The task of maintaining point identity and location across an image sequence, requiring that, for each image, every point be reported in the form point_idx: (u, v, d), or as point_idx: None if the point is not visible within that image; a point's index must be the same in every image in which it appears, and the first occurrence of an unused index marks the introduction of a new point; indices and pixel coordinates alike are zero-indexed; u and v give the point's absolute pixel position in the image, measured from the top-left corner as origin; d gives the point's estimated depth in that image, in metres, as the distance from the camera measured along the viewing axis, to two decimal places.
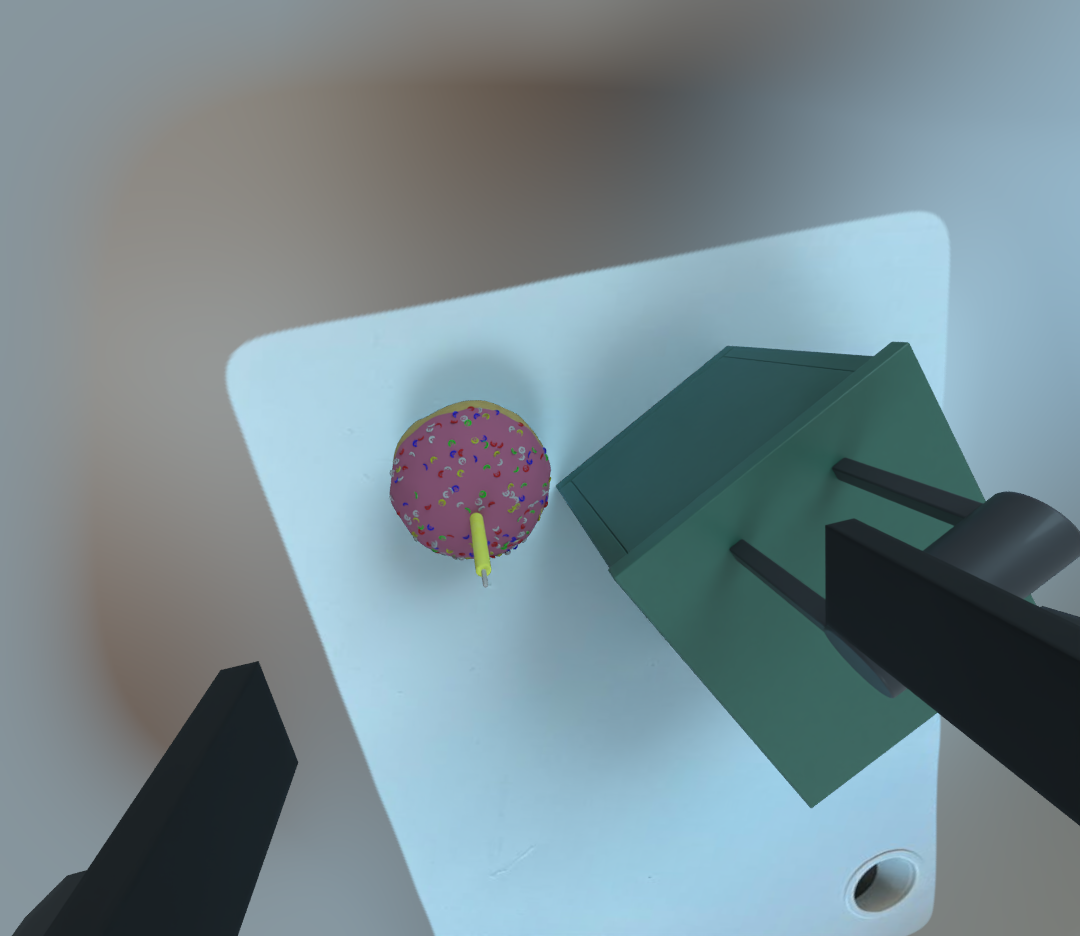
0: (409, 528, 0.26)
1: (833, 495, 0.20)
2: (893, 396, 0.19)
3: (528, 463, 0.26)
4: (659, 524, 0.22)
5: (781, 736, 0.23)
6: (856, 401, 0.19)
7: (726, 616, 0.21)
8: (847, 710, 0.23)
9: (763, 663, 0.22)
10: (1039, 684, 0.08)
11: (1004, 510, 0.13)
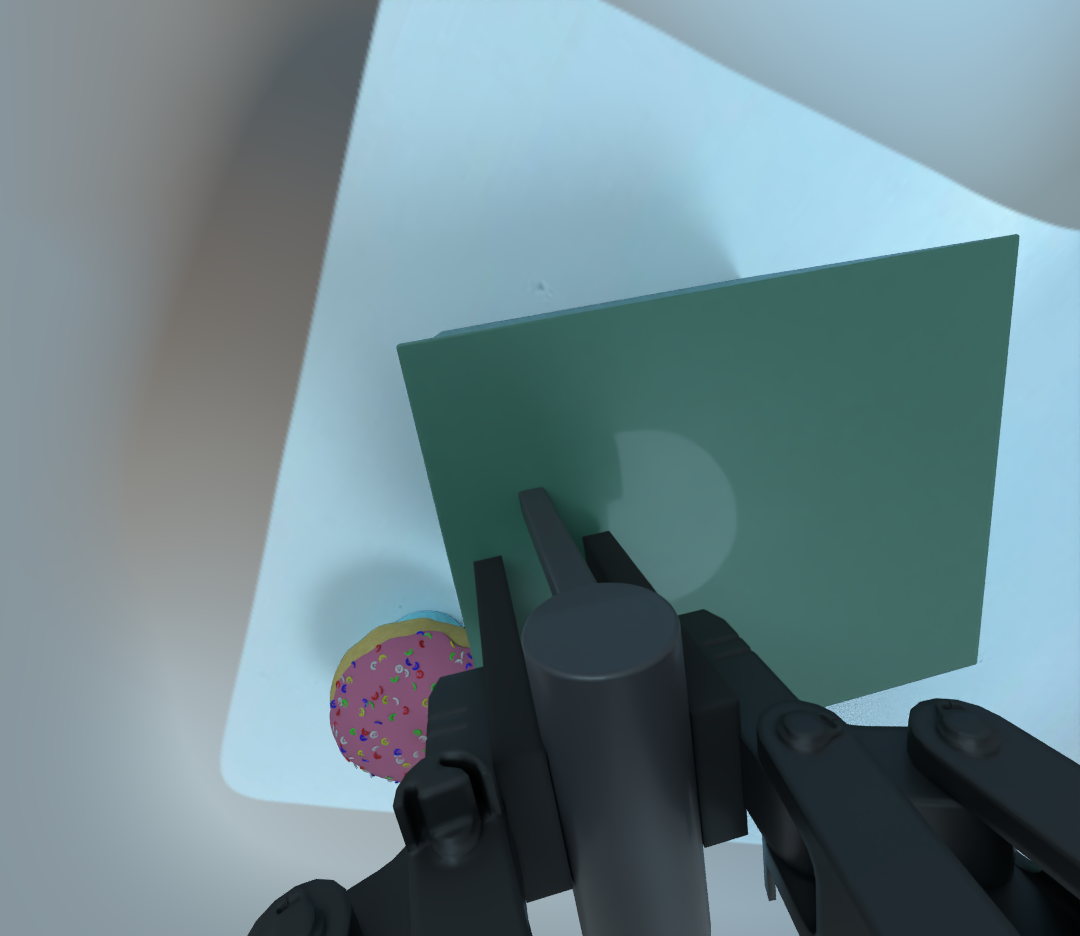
0: None
1: (565, 521, 0.14)
2: (468, 394, 0.13)
3: (416, 668, 0.23)
4: None
5: (848, 674, 0.17)
6: (446, 452, 0.13)
7: None
8: (885, 584, 0.16)
9: None
10: None
11: (530, 685, 0.07)
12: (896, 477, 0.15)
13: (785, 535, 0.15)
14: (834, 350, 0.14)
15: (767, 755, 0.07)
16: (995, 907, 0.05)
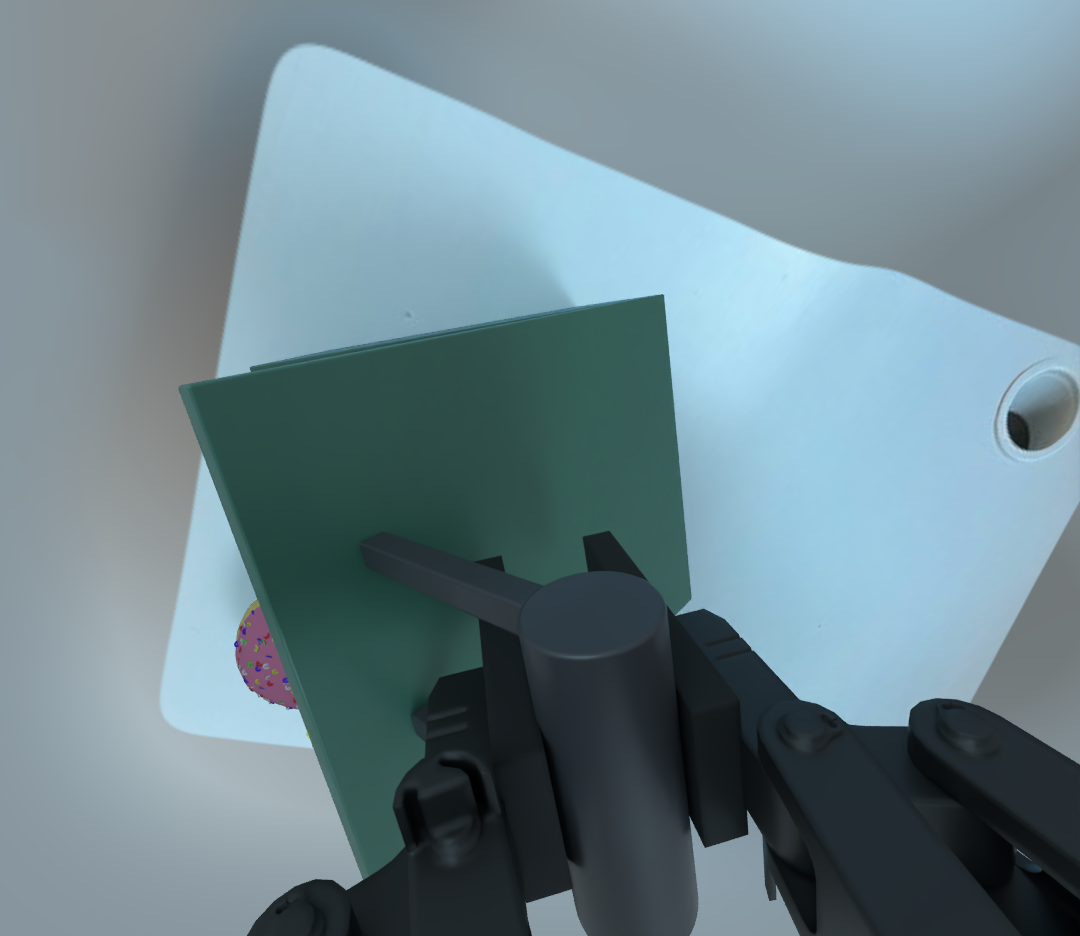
0: None
1: None
2: (290, 438, 0.11)
3: None
4: None
5: None
6: (268, 512, 0.10)
7: None
8: (639, 554, 0.21)
9: None
10: None
11: (551, 692, 0.07)
12: (633, 470, 0.20)
13: (579, 531, 0.18)
14: (586, 375, 0.17)
15: (767, 755, 0.07)
16: (996, 907, 0.05)
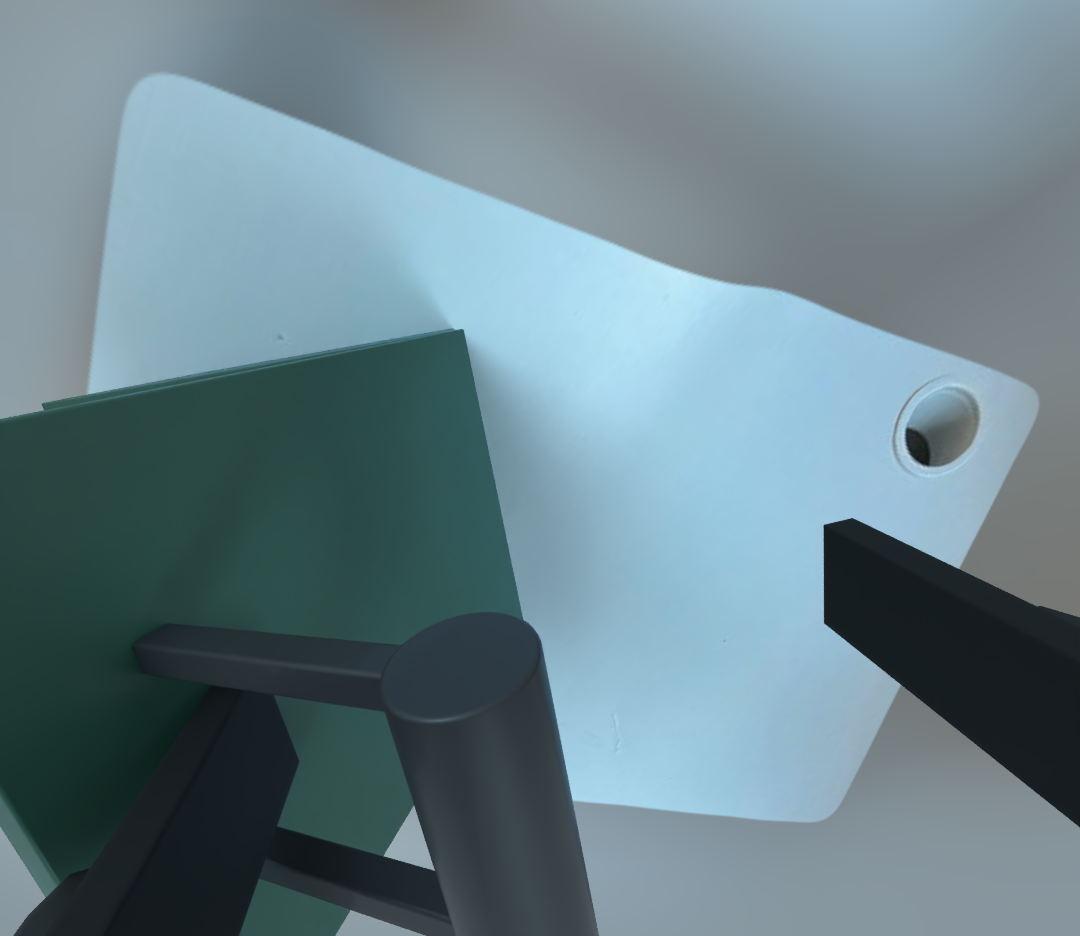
0: None
1: None
2: (4, 522, 0.08)
3: None
4: None
5: None
6: None
7: (340, 819, 0.13)
8: (471, 589, 0.20)
9: None
10: (1037, 684, 0.08)
11: (434, 766, 0.06)
12: (455, 504, 0.20)
13: (409, 577, 0.17)
14: (398, 412, 0.17)
15: None
16: None
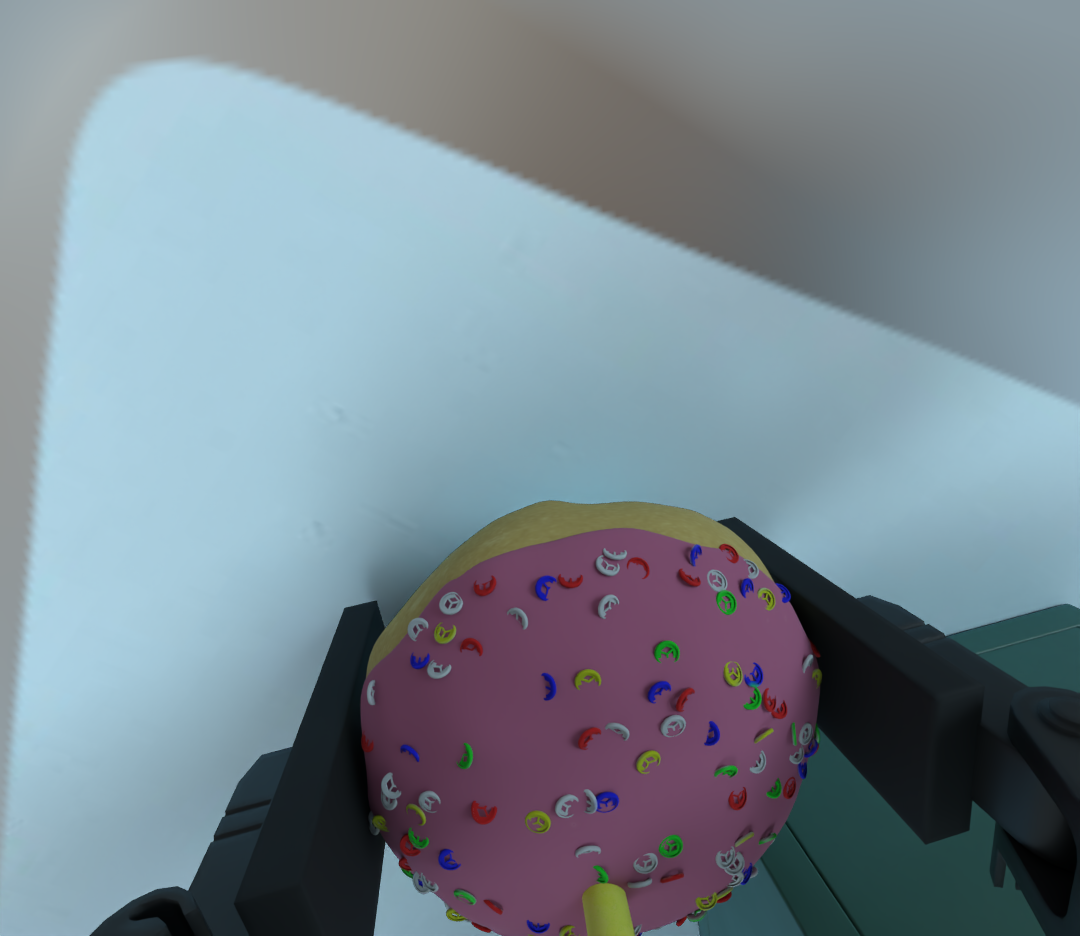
0: (375, 801, 0.08)
1: None
2: None
3: (797, 772, 0.09)
4: None
5: None
6: None
7: None
8: None
9: None
10: (839, 662, 0.09)
11: None
12: None
13: None
14: None
15: (1024, 732, 0.07)
16: None
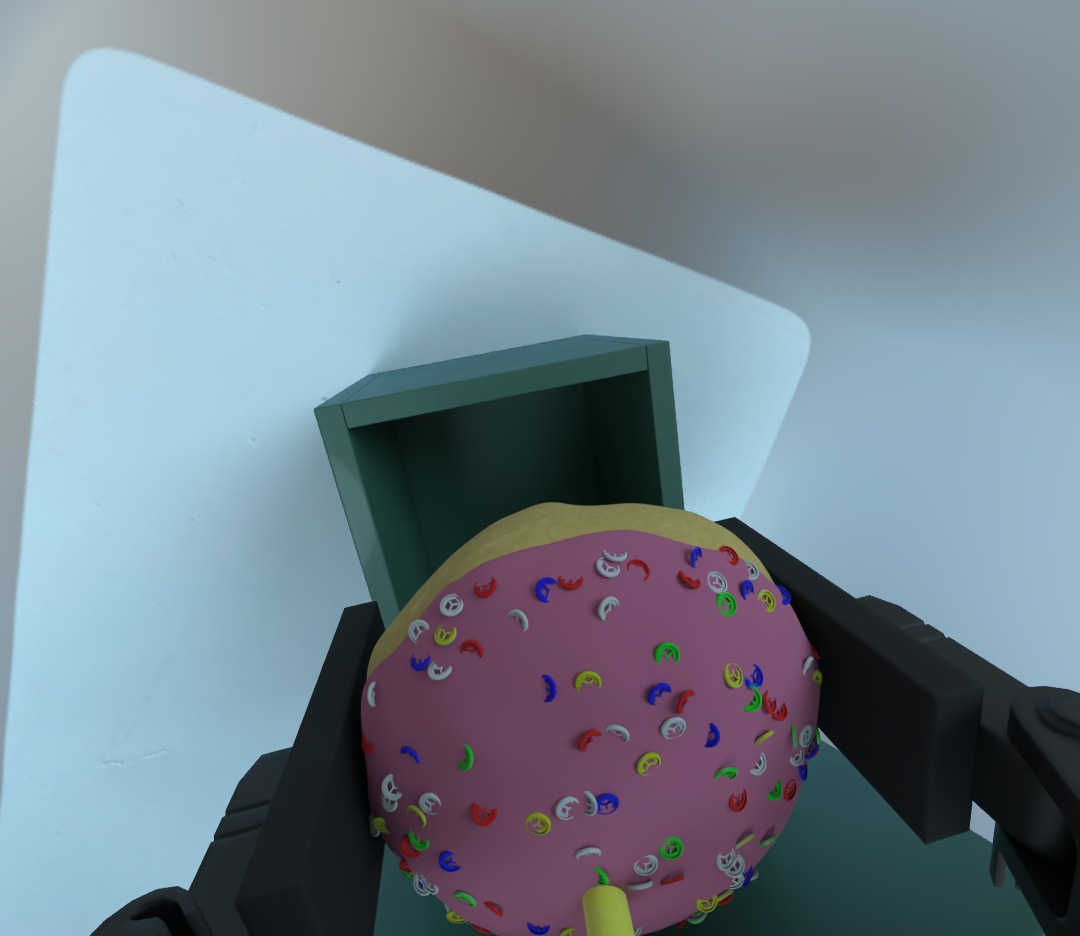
0: (375, 803, 0.08)
1: None
2: None
3: (797, 773, 0.09)
4: (393, 389, 0.21)
5: None
6: None
7: None
8: None
9: None
10: (839, 661, 0.09)
11: None
12: None
13: None
14: None
15: (1024, 731, 0.07)
16: None
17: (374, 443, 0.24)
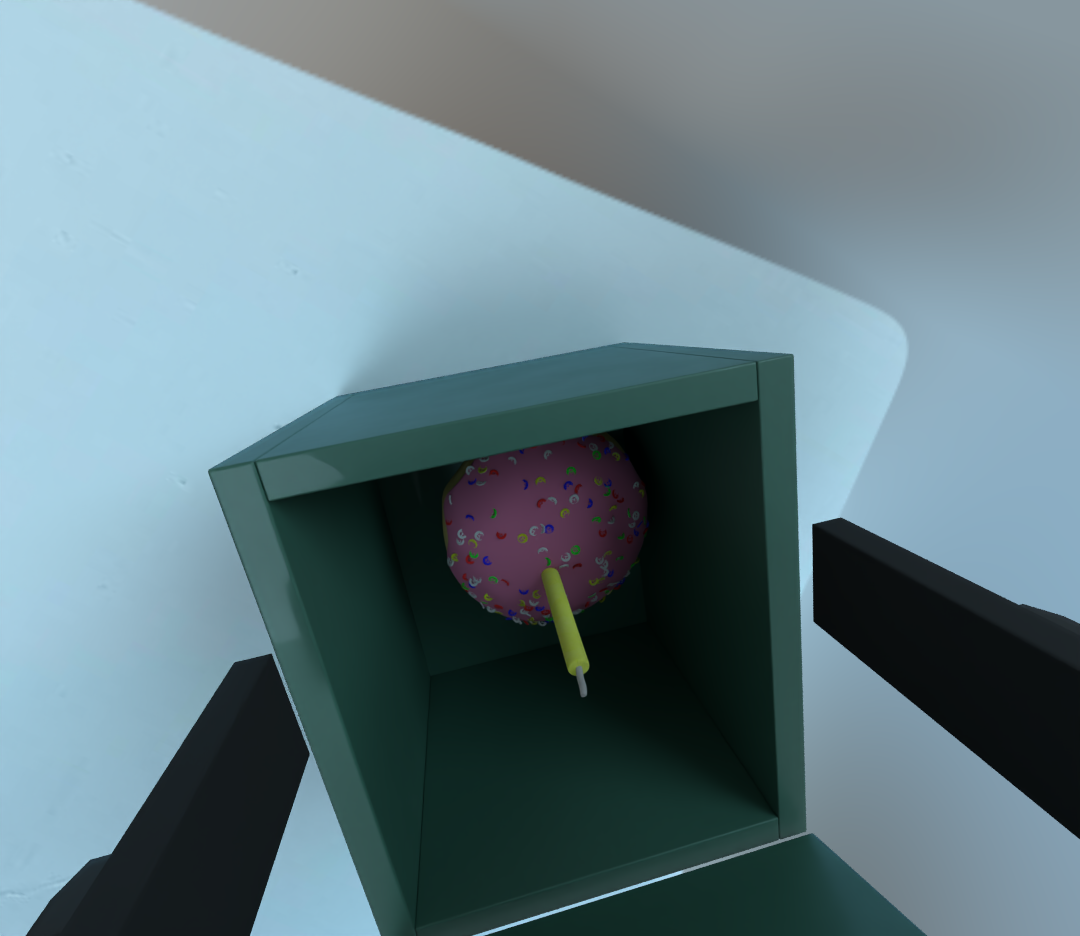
0: (452, 547, 0.19)
1: None
2: None
3: (634, 533, 0.20)
4: (349, 431, 0.13)
5: None
6: None
7: None
8: None
9: None
10: (1016, 680, 0.08)
11: None
12: None
13: None
14: None
15: None
16: None
17: (330, 504, 0.16)
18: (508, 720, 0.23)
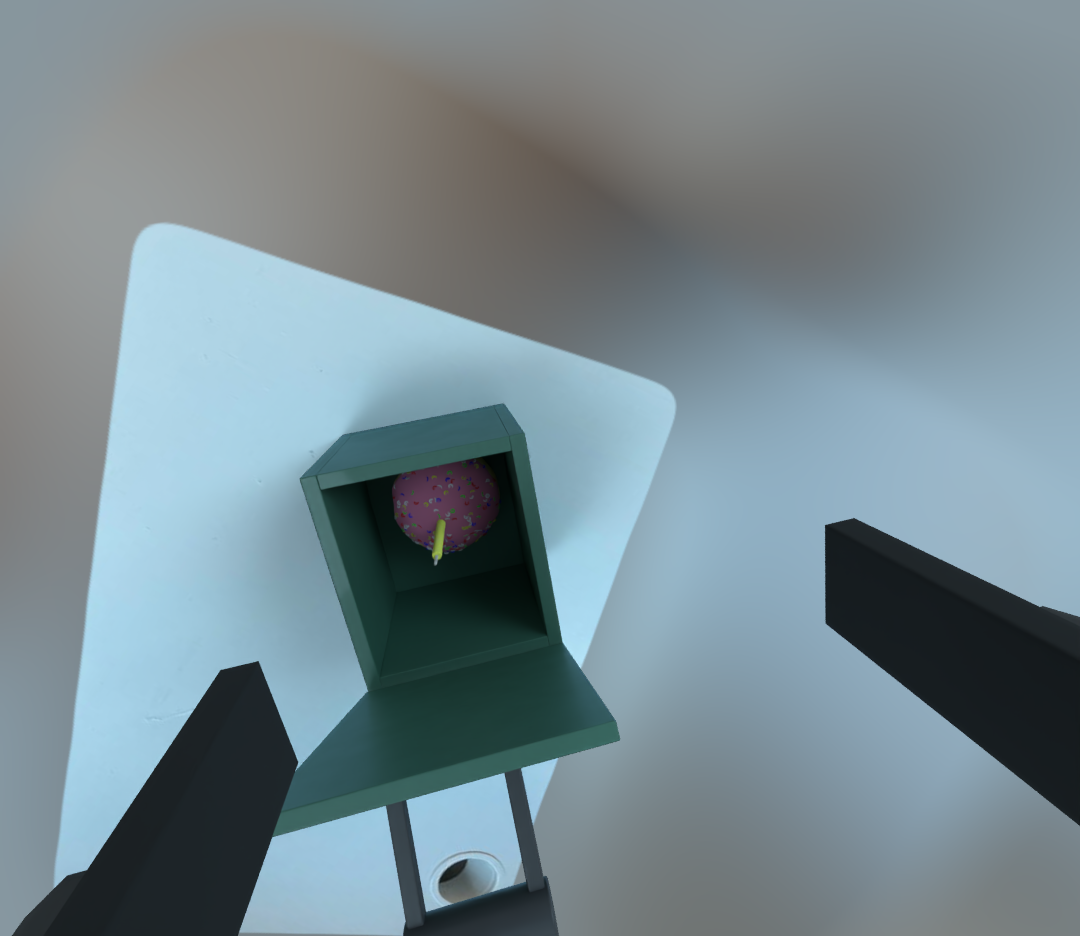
0: (395, 509, 0.39)
1: None
2: None
3: (487, 505, 0.40)
4: (350, 462, 0.33)
5: None
6: None
7: None
8: None
9: None
10: (1039, 684, 0.08)
11: (539, 934, 0.20)
12: None
13: None
14: None
15: None
16: None
17: (341, 492, 0.36)
18: (435, 608, 0.43)
